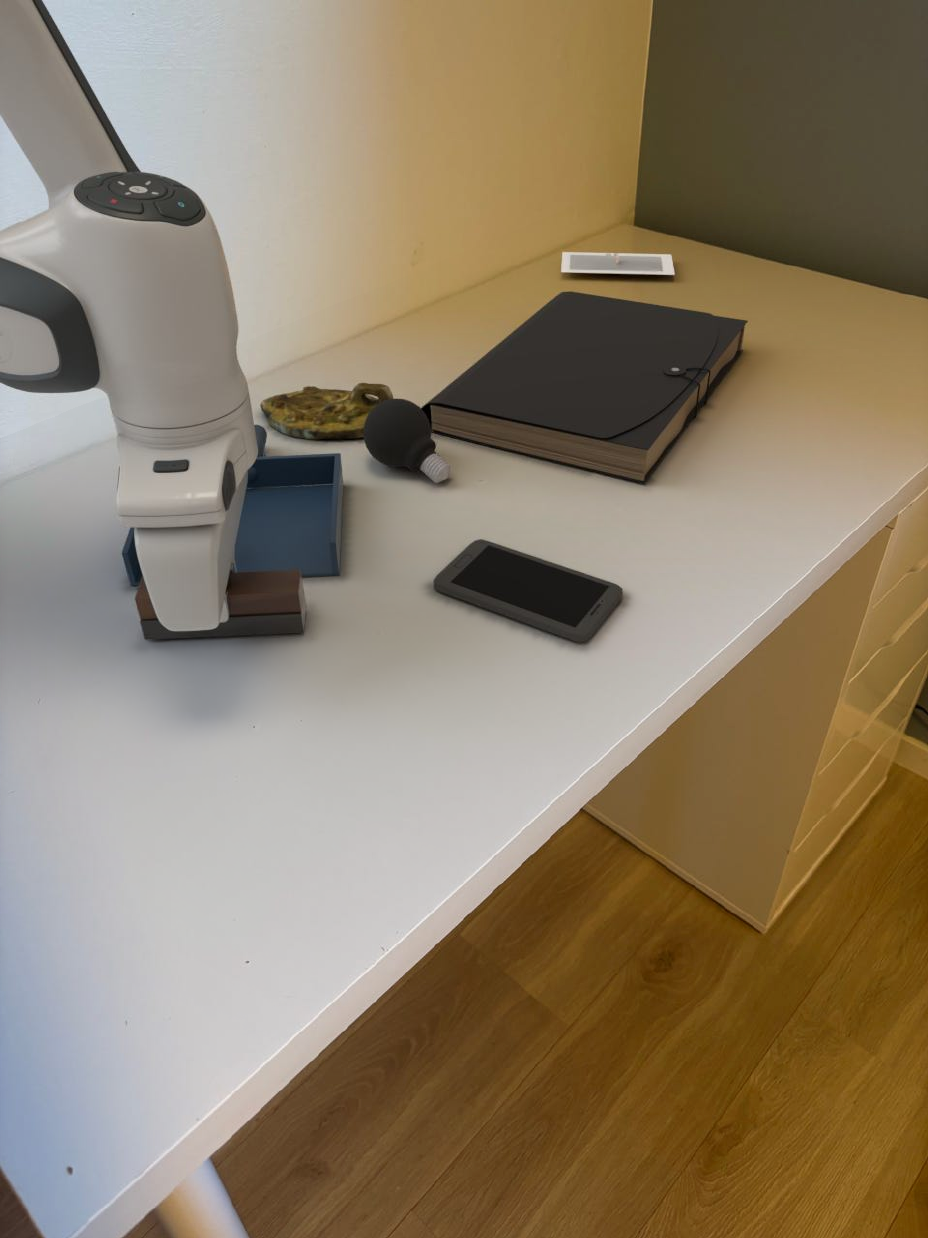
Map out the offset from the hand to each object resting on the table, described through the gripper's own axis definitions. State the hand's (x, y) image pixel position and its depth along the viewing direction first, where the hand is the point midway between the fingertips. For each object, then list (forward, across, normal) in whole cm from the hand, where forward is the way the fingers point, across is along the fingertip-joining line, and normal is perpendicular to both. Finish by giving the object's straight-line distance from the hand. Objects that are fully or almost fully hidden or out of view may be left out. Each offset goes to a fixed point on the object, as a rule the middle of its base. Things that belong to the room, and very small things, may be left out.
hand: (221, 599), depth 75 cm
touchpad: (+3, -73, +44) cm, 86 cm away
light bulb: (+3, -23, +15) cm, 28 cm away
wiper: (+2, 0, 0) cm, 2 cm away
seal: (+3, -34, +7) cm, 34 cm away
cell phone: (+2, -2, +24) cm, 24 cm away
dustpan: (+3, -17, 0) cm, 17 cm away
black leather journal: (+3, -38, +35) cm, 52 cm away
